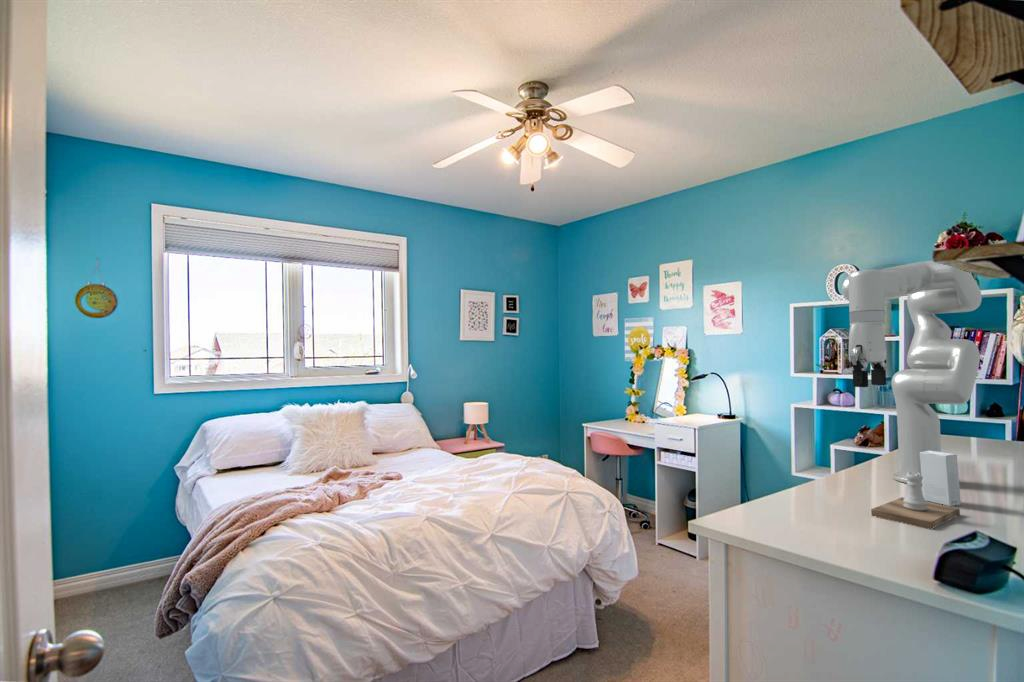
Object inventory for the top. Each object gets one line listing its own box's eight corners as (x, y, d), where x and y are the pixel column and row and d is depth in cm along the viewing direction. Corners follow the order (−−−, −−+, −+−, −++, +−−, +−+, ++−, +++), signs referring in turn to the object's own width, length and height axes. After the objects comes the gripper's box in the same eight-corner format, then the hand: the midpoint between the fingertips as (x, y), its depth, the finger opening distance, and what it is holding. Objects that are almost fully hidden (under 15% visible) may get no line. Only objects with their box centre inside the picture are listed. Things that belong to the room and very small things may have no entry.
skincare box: (961, 504, 123) (959, 454, 123) (949, 507, 121) (947, 455, 122) (933, 498, 129) (930, 449, 129) (921, 500, 127) (919, 451, 127)
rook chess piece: (932, 511, 114) (931, 475, 114) (909, 511, 114) (908, 475, 115) (920, 506, 118) (919, 470, 118) (898, 505, 119) (897, 470, 119)
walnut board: (902, 503, 125) (902, 497, 125) (959, 514, 116) (959, 508, 116) (871, 515, 116) (871, 509, 116) (930, 529, 107) (930, 522, 107)
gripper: (866, 320, 139) (869, 383, 139) (834, 319, 130) (837, 387, 129) (899, 318, 133) (902, 384, 132) (867, 317, 123) (870, 388, 123)
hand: (869, 385), depth 131 cm, fingers open, 9 cm apart
